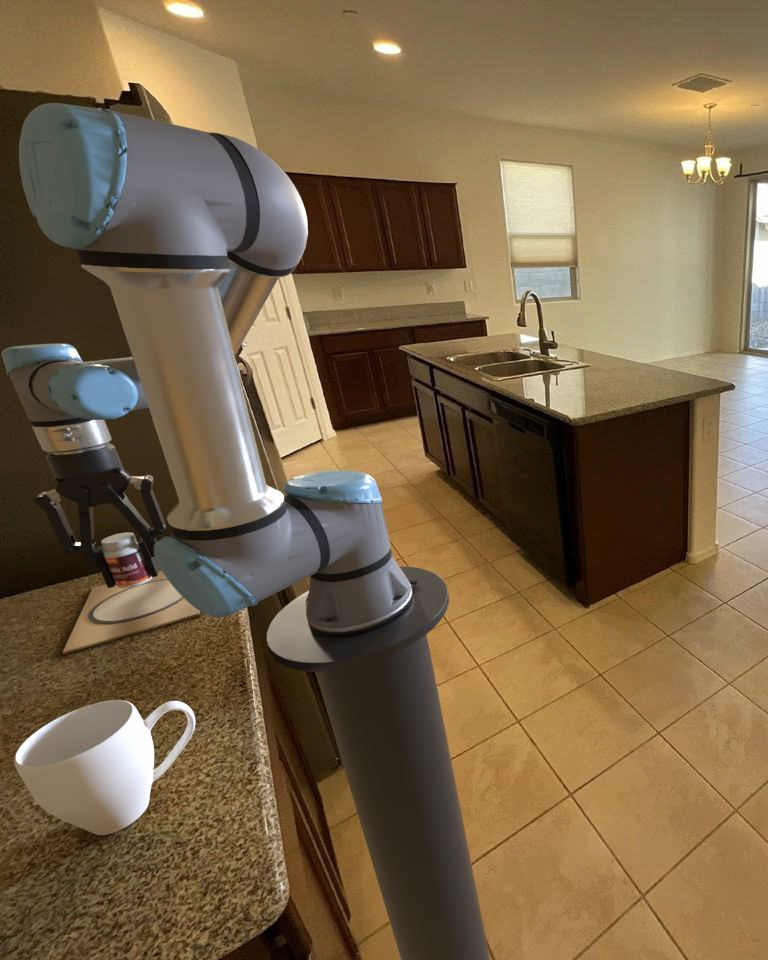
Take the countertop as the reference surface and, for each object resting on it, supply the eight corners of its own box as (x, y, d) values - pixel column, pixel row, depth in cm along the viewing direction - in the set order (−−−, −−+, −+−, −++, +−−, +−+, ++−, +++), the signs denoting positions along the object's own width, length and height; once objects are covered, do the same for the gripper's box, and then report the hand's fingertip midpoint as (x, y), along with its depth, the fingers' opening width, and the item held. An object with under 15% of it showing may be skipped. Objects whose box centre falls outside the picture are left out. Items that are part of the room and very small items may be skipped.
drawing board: (205, 561, 103) (204, 559, 102) (199, 615, 86) (198, 612, 86) (93, 589, 94) (92, 586, 94) (63, 654, 77) (61, 651, 77)
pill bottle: (111, 592, 86) (91, 546, 83) (124, 578, 90) (105, 534, 87) (148, 585, 87) (129, 540, 84) (158, 571, 91) (141, 529, 88)
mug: (67, 875, 48) (12, 787, 44) (60, 819, 53) (11, 735, 49) (224, 786, 57) (190, 704, 52) (206, 744, 62) (174, 667, 58)
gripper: (-16, 466, 72) (54, 607, 81) (153, 443, 82) (200, 571, 90) (2, 453, 78) (66, 586, 86) (158, 432, 88) (202, 554, 96)
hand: (134, 578), depth 88 cm, fingers closed on pill bottle, 5 cm apart
